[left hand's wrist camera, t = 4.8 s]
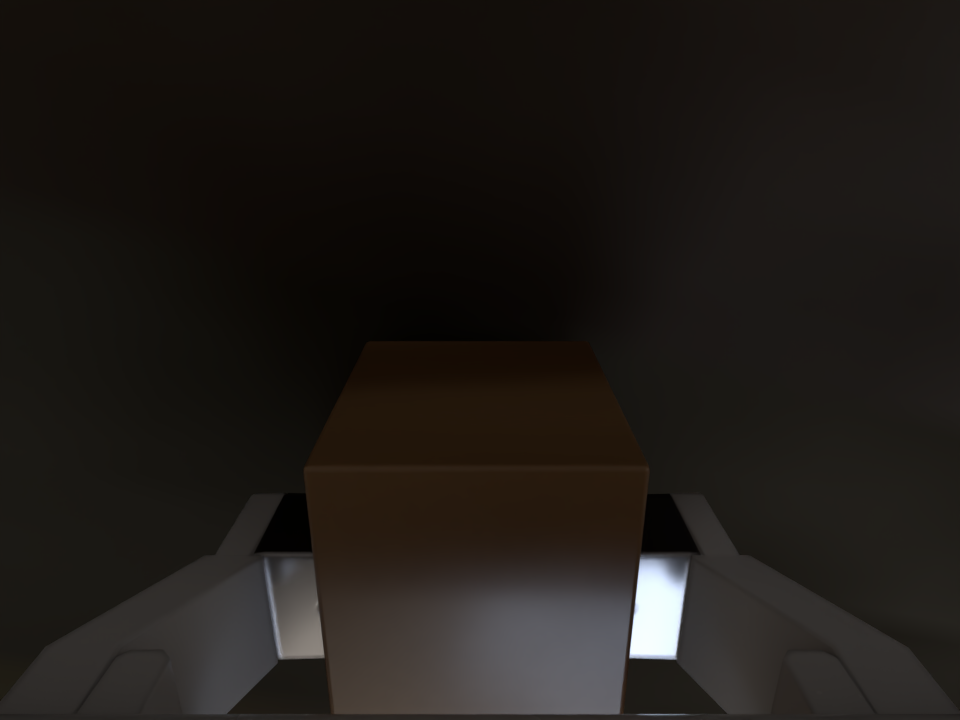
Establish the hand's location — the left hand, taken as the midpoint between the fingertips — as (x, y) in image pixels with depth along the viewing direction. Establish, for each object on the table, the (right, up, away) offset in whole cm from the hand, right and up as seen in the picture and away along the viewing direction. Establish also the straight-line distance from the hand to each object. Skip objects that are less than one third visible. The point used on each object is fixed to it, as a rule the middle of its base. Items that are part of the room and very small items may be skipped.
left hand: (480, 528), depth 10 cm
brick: (0, +1, +2) cm, 2 cm away
